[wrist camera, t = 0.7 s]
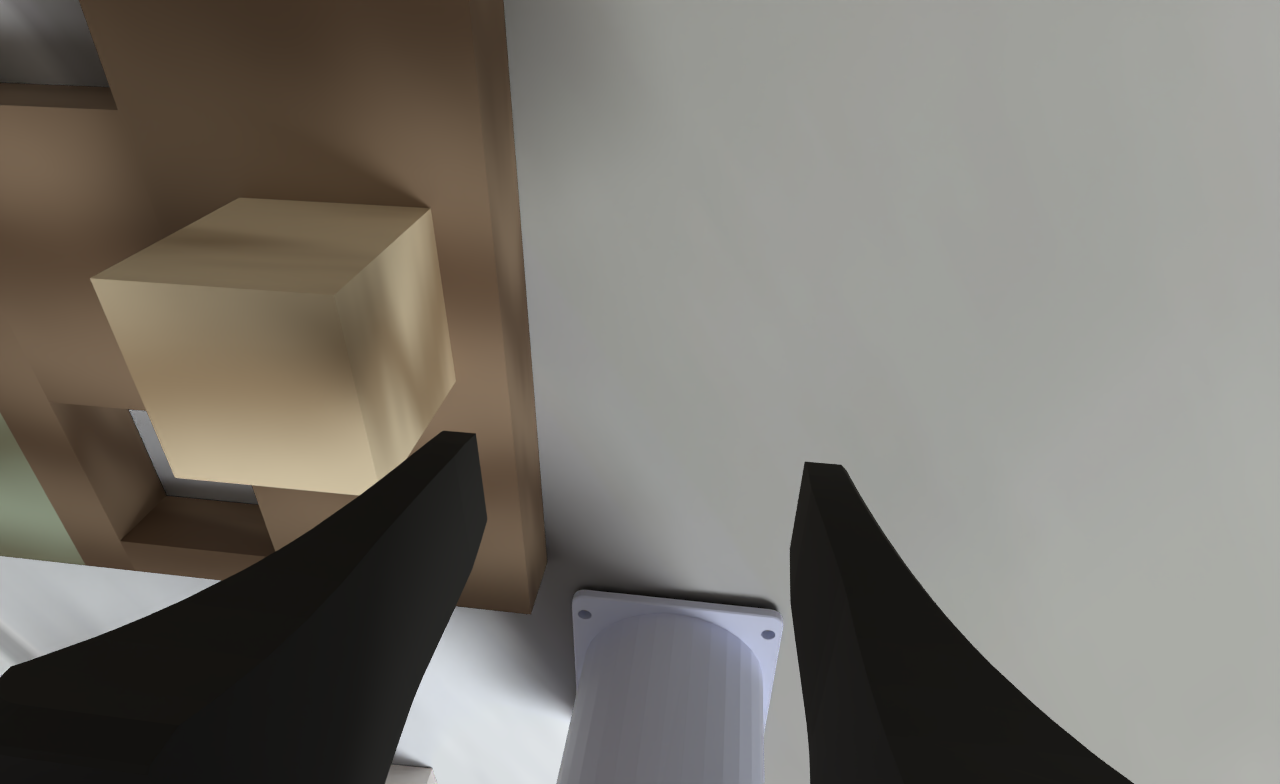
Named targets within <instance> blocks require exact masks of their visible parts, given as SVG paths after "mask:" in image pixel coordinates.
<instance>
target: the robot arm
mask: <svg viewBox="0 0 1280 784" xmlns="http://www.w3.org/2000/svg"><path fill="white" fill-rule="evenodd" d="M486 523H487V512H486V505H485V497H484V490H483V482H482V475H481V467H480V460H479V452H478V445H477V438H476V433H466V432H454V431H442V432H440V433H439V434H438V435H436V436H435V437H434V438H432V439H431V440H430V441H429V442H427V443H426V444H425V445H423V446H422V447H421V448H420V449H418V450H417V451H416V452H415V453H413V454H412V455H411V456H410V457H408V458H407V459H406V460H405V461H403V462H402V463H401V464H400V465H398V466H397V467H396V468H395V469H393V470H392V471H391V472H389V473H388V474H387V475H385V476H384V477H383V478H382V479H380V480H379V481H378V482H376V483H375V484H374V485H372V486H371V487H370V488H369V489H367V490H366V491H365V492H363V493H362V494H361V495H359V496H358V497H357V498H355V499H354V500H352V501H351V502H350V503H348V504H347V505H345V506H344V507H342V508H341V509H340V510H338V511H337V512H335V513H334V514H332V515H331V516H330V517H328V518H327V519H325V520H324V521H322V522H321V523H320V524H318V525H317V526H315V527H314V528H312V529H311V530H309V531H308V532H306V533H305V534H303V535H302V536H300V537H299V538H297V539H295V540H294V541H292V542H290V543H289V544H287V545H286V546H284V547H282V548H281V549H279V550H277V551H275V552H274V553H272V554H270V555H269V556H267V557H265V558H263V559H262V560H260V561H258V562H257V563H255V564H253V565H251V566H249V567H248V568H246V569H244V570H242V571H240V572H238V573H236V574H234V575H232V576H230V577H228V578H226V579H224V580H222V581H220V582H218V583H216V584H214V585H212V586H210V587H208V588H206V589H204V590H202V591H200V592H198V593H197V594H195V595H193V596H191V597H189V598H186V599H184V600H182V601H180V602H178V603H176V604H173V605H171V606H169V607H167V608H164V609H162V610H160V611H158V612H155V613H153V614H151V615H149V616H146V617H144V618H141V619H139V620H137V621H134V622H132V623H129V624H127V625H124V626H122V627H120V628H117V629H115V630H112V631H110V632H107V633H104V634H102V635H99V636H97V637H94V638H91V639H89V640H86V641H83V642H80V643H77V644H75V645H72V646H69V647H66V648H63V649H61V650H58V651H55V652H52V653H49V654H47V655H44V656H41V657H38V658H35V659H33V660H30V661H27V662H24V663H21V664H18V665H15V666H12V667H10V668H9V669H8V670H7V671H6V672H5V673H4V674H3V675H2V676H1V677H0V784H385V782H386V779H387V776H388V773H389V770H390V766H391V763H392V760H393V757H394V754H395V751H396V748H397V745H398V742H399V740H400V737H401V734H402V731H403V728H404V725H405V722H406V719H407V716H408V713H409V711H410V708H411V705H412V702H413V699H414V697H415V695H416V692H417V690H418V687H419V685H420V683H421V680H422V678H423V675H424V673H425V671H426V669H427V667H428V665H429V663H430V660H431V658H432V656H433V654H434V652H435V650H436V647H437V645H438V643H439V641H440V639H441V637H442V635H443V632H444V630H445V628H446V626H447V624H448V622H449V619H450V617H451V615H452V613H453V611H454V609H455V607H456V604H457V602H458V600H459V598H460V596H461V593H462V591H463V589H464V587H465V585H466V582H467V580H468V578H469V576H470V573H471V571H472V569H473V565H474V562H475V559H476V556H477V553H478V550H479V547H480V543H481V540H482V537H483V533H484V530H485V526H486ZM790 596H791V610H792V618H793V625H794V633H795V641H796V648H797V656H798V663H799V670H800V678H801V685H802V693H803V700H804V707H805V715H806V722H807V732H808V743H809V758H810V784H1134V783H1132V782H1131V781H1130V780H1128V779H1127V778H1126V777H1124V776H1123V775H1121V774H1120V773H1119V772H1117V771H1116V770H1115V769H1113V768H1112V767H1111V766H1109V765H1108V764H1106V763H1105V762H1104V761H1102V760H1101V759H1100V758H1098V757H1097V756H1096V755H1095V754H1093V753H1092V752H1091V751H1089V750H1088V749H1087V748H1086V747H1085V746H1083V745H1082V744H1081V743H1080V742H1078V741H1077V740H1076V739H1075V738H1074V737H1072V736H1071V735H1070V734H1069V733H1067V732H1066V731H1065V730H1064V729H1063V728H1061V727H1060V726H1059V725H1058V724H1056V723H1055V722H1054V721H1053V720H1052V719H1050V718H1049V717H1048V716H1047V715H1046V714H1045V713H1044V712H1042V711H1041V710H1040V709H1039V708H1038V707H1037V706H1035V705H1034V704H1033V703H1032V702H1031V701H1030V700H1029V699H1028V698H1027V697H1026V696H1025V695H1023V694H1022V693H1021V692H1020V691H1019V690H1018V689H1017V688H1016V687H1015V686H1014V685H1013V684H1012V683H1011V682H1009V681H1008V680H1007V679H1006V678H1005V677H1004V676H1003V675H1002V674H1001V673H1000V672H999V671H998V670H997V669H996V668H994V667H993V666H992V665H991V664H990V663H989V662H988V661H987V660H986V659H985V658H984V657H983V656H982V655H981V654H980V653H979V651H978V650H977V649H976V648H975V647H974V646H973V645H972V644H971V643H970V642H969V641H968V640H967V639H966V638H965V636H964V635H963V634H962V633H961V632H960V631H959V630H958V629H957V628H956V627H955V626H954V624H953V623H952V622H951V621H950V620H949V619H948V617H947V616H946V615H945V614H944V613H943V612H942V610H941V609H940V608H939V607H938V606H937V604H936V603H935V602H934V601H933V600H932V598H931V597H930V596H929V594H928V593H927V592H926V591H925V589H924V588H923V587H922V586H921V584H920V583H919V582H918V580H917V579H916V578H915V577H914V575H913V574H912V572H911V571H910V570H909V568H908V567H907V566H906V564H905V563H904V562H903V560H902V559H901V557H900V556H899V554H898V553H897V551H896V550H895V549H894V547H893V546H892V544H891V543H890V541H889V540H888V538H887V537H886V536H885V534H884V533H883V531H882V530H881V528H880V526H879V525H878V523H877V522H876V520H875V519H874V517H873V515H872V514H871V512H870V511H869V509H868V507H867V506H866V504H865V502H864V501H863V499H862V497H861V496H860V494H859V492H858V490H857V489H856V487H855V485H854V483H853V482H852V480H851V478H850V476H849V474H848V472H847V471H846V470H845V468H844V467H843V466H842V465H837V464H825V463H814V462H805V464H804V470H803V475H802V481H801V487H800V493H799V499H798V505H797V511H796V516H795V522H794V528H793V534H792V540H791V546H790ZM584 610H586V611H584ZM572 617H573V636H574V654H575V672H576V690H577V694H576V699H575V703H574V708H573V712H572V717H571V721H570V725H569V730H568V734H567V739H566V743H565V748H564V752H563V757H562V761H561V766H560V770H559V775H558V779H557V784H765V778H764V731H765V725H766V720H767V714H768V709H769V703H770V697H771V692H772V686H773V681H774V675H775V669H776V664H777V658H778V653H779V647H780V641H781V636H782V630H783V617H782V615H781V614H780V613H779V612H777V611H775V610H771V609H763V608H754V607H744V606H735V605H725V604H716V603H706V602H697V601H688V600H678V599H669V598H659V597H650V596H641V595H631V594H622V593H612V592H603V591H593V590H579V591H577V592H576V593H575V594H574V596H573V600H572ZM765 630H770V631H765Z"/></svg>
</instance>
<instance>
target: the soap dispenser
mask: <svg viewBox="0 0 1280 784" xmlns="http://www.w3.org/2000/svg"><path fill="white" fill-rule="evenodd" d="M385 784H438V783H437V780H436V777H435V775H434V772H433V769H432V768H422V767H412V766H402V765H392V764H391V766H390V770H389V773H388V776H387V779H386V782H385Z"/></svg>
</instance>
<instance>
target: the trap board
mask: <svg viewBox="0 0 1280 784" xmlns="http://www.w3.org/2000/svg"><path fill="white" fill-rule="evenodd" d="M79 2H80V5H81V8H82V11H83V13H84V16H85V19H86V22H87V25H88V27H89V30H90V33H91V36H92V39H93V41H94V44H95V47H96V50H97V53H98V55H99V58H100V61H101V64H102V67H103V69H104V72H105V75H106V78H107V81H108V84H109V86H110V87H93V86H68V85H43V84H19V83H0V556H6V557H15V558H24V559H33V560H42V561H51V562H60V563H69V564H78V565H87V566H96V567H106V568H115V569H124V570H133V571H142V572H151V573H160V574H169V575H178V576H187V577H196V578H205V579H214V580H224V579H226V578H228V577H230V576H232V575H234V574H236V573H238V572H240V571H242V570H244V569H246V568H248V567H249V566H251V565H253V564H255V563H257V562H258V561H260V560H262V559H263V558H265V557H267V556H269V555H270V554H272V553H274V552H275V551H277V550H279V549H281V548H282V547H284V546H286V545H287V544H289V543H290V542H292V541H294V540H295V539H297V538H299V537H300V536H302V535H303V534H305V533H306V532H308V531H309V530H311V529H312V528H314V527H315V526H317V525H318V524H320V523H321V522H322V521H324V520H325V519H327V518H328V517H330V516H331V515H332V514H334V513H335V512H337V511H338V510H340V509H341V508H342V507H344V506H345V505H347V504H348V503H350V502H351V501H352V500H354V499H355V498H357V497H358V496H359V495H348V494H338V493H328V492H317V491H307V490H297V489H286V488H276V487H265V486H255V485H252V488H253V490H254V493H255V496H256V499H257V502H258V504H259V505H255V504H245V503H235V502H225V501H215V500H205V499H195V498H185V497H174V496H166V494H165V492H164V489H163V487H162V485H161V482H160V480H159V478H158V476H157V473H156V471H155V469H154V467H153V464H152V462H151V460H150V458H149V455H148V453H147V451H146V449H145V446H144V444H143V442H142V440H141V437H140V435H139V433H138V431H137V428H136V426H135V424H134V422H133V419H132V417H131V415H130V412H129V410H128V409H132V410H144V411H146V409H145V406H144V404H143V402H142V399H141V397H140V395H139V392H138V390H137V387H136V385H135V383H134V380H133V378H132V376H131V373H130V371H129V369H128V366H127V364H126V362H125V359H124V357H123V355H122V352H121V350H120V348H119V345H118V343H117V341H116V338H115V336H114V334H113V331H112V329H111V327H110V324H109V322H108V320H107V317H106V315H105V313H104V310H103V308H102V306H101V303H100V301H99V298H98V296H97V294H96V291H95V289H94V287H93V284H92V282H91V280H90V278H91V277H93V276H95V275H97V274H99V273H101V272H103V271H104V270H106V269H108V268H110V267H112V266H114V265H115V264H117V263H119V262H121V261H123V260H125V259H127V258H128V257H130V256H132V255H134V254H136V253H138V252H140V251H141V250H143V249H145V248H147V247H149V246H151V245H152V244H154V243H156V242H158V241H160V240H162V239H164V238H165V237H167V236H169V235H171V234H173V233H175V232H177V231H178V230H180V229H182V228H184V227H186V226H188V225H190V224H191V223H193V222H195V221H197V220H199V219H201V218H202V217H204V216H206V215H208V214H210V213H212V212H214V211H215V210H217V209H219V208H221V207H223V206H225V205H227V204H228V203H230V202H232V201H234V200H236V199H238V198H256V199H274V200H292V201H310V202H328V203H345V204H363V205H381V206H399V207H417V208H431V213H432V220H433V227H434V234H435V241H436V248H437V254H438V261H439V268H440V275H441V282H442V289H443V296H444V303H445V309H446V316H447V323H448V330H449V337H450V344H451V351H452V358H453V364H454V371H455V378H456V382H455V384H454V385H453V387H452V388H451V390H450V391H449V393H448V395H447V396H446V398H445V399H444V401H443V402H442V404H441V406H440V407H439V409H438V410H437V412H436V413H435V415H434V416H433V418H432V420H431V421H430V423H429V424H428V426H427V427H426V429H425V431H424V432H423V434H422V435H421V437H420V438H419V440H418V442H417V443H416V445H415V446H414V448H413V449H412V451H411V453H410V454H409V456H408V457H410V456H411V455H412V454H413V453H415V452H416V451H417V450H418V449H420V448H421V447H422V446H423V445H425V444H426V443H427V442H429V441H430V440H431V439H432V438H434V437H435V436H436V435H438V434H439V433H440V432H442V431H454V432H466V433H476V438H477V445H478V452H479V460H480V467H481V475H482V482H483V490H484V497H485V505H486V512H487V523H486V526H485V530H484V533H483V537H482V540H481V543H480V547H479V550H478V553H477V556H476V559H475V562H474V565H473V569H472V571H471V573H470V576H469V578H468V580H467V582H466V585H465V587H464V589H463V591H462V593H461V596H460V598H459V600H458V602H457V604H456V606H459V607H468V608H477V609H486V610H495V611H504V612H513V613H522V614H531V612H532V609H533V606H534V603H535V600H536V596H537V593H538V590H539V587H540V584H541V581H542V577H543V574H544V571H545V568H546V565H547V553H546V540H545V527H544V514H543V502H542V489H541V476H540V463H539V450H538V438H537V425H536V412H535V399H534V386H533V374H532V361H531V348H530V335H529V323H528V310H527V297H526V284H525V271H524V259H523V246H522V233H521V220H520V207H519V195H518V182H517V169H516V156H515V143H514V131H513V118H512V105H511V92H510V80H509V67H508V54H507V41H506V28H505V16H504V3H503V0H79ZM408 457H407V458H408Z"/></svg>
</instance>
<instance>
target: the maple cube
mask: <svg viewBox="0 0 1280 784" xmlns="http://www.w3.org/2000/svg"><path fill="white" fill-rule="evenodd" d="M90 280H91V282H92V284H93V287H94V289H95V291H96V294H97V296H98V298H99V301H100V303H101V306H102V308H103V310H104V313H105V315H106V317H107V320H108V322H109V324H110V327H111V329H112V331H113V334H114V336H115V338H116V341H117V343H118V345H119V348H120V350H121V352H122V355H123V357H124V359H125V362H126V364H127V366H128V369H129V371H130V373H131V376H132V378H133V380H134V383H135V385H136V387H137V390H138V392H139V395H140V397H141V399H142V402H143V404H144V406H145V409H146V411H147V413H148V416H149V418H150V420H151V423H152V425H153V427H154V430H155V432H156V434H157V437H158V439H159V441H160V444H161V446H162V448H163V451H164V453H165V455H166V458H167V460H168V462H169V465H170V467H171V469H172V472H173V474H174V476H175V478H182V479H193V480H203V481H214V482H224V483H234V484H245V485H255V486H265V487H276V488H286V489H297V490H307V491H317V492H328V493H338V494H348V495H361V494H362V493H363V492H365V491H366V490H367V489H369V488H370V487H371V486H372V485H374V484H375V483H376V482H378V481H379V480H380V479H382V478H383V477H384V476H385V475H387V474H388V473H389V472H391V471H392V470H393V469H395V468H396V467H397V466H398V465H400V464H401V463H402V462H403V461H405V460H406V459H407V457H408V456H409V454H410V453H411V451H412V449H413V448H414V446H415V445H416V443H417V442H418V440H419V438H420V437H421V435H422V434H423V432H424V431H425V429H426V427H427V426H428V424H429V423H430V421H431V420H432V418H433V416H434V415H435V413H436V412H437V410H438V409H439V407H440V406H441V404H442V402H443V401H444V399H445V398H446V396H447V395H448V393H449V391H450V390H451V388H452V387H453V385H454V384H455V382H456V378H455V371H454V364H453V358H452V351H451V344H450V337H449V330H448V323H447V316H446V309H445V303H444V296H443V289H442V282H441V275H440V268H439V261H438V254H437V248H436V241H435V234H434V227H433V220H432V213H431V208H417V207H399V206H381V205H363V204H345V203H328V202H310V201H292V200H274V199H256V198H238V199H236V200H234V201H232V202H230V203H228V204H227V205H225V206H223V207H221V208H219V209H217V210H215V211H214V212H212V213H210V214H208V215H206V216H204V217H202V218H201V219H199V220H197V221H195V222H193V223H191V224H190V225H188V226H186V227H184V228H182V229H180V230H178V231H177V232H175V233H173V234H171V235H169V236H167V237H165V238H164V239H162V240H160V241H158V242H156V243H154V244H152V245H151V246H149V247H147V248H145V249H143V250H141V251H140V252H138V253H136V254H134V255H132V256H130V257H128V258H127V259H125V260H123V261H121V262H119V263H117V264H115V265H114V266H112V267H110V268H108V269H106V270H104V271H103V272H101V273H99V274H97V275H95V276H93V277H91V278H90Z"/></svg>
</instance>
